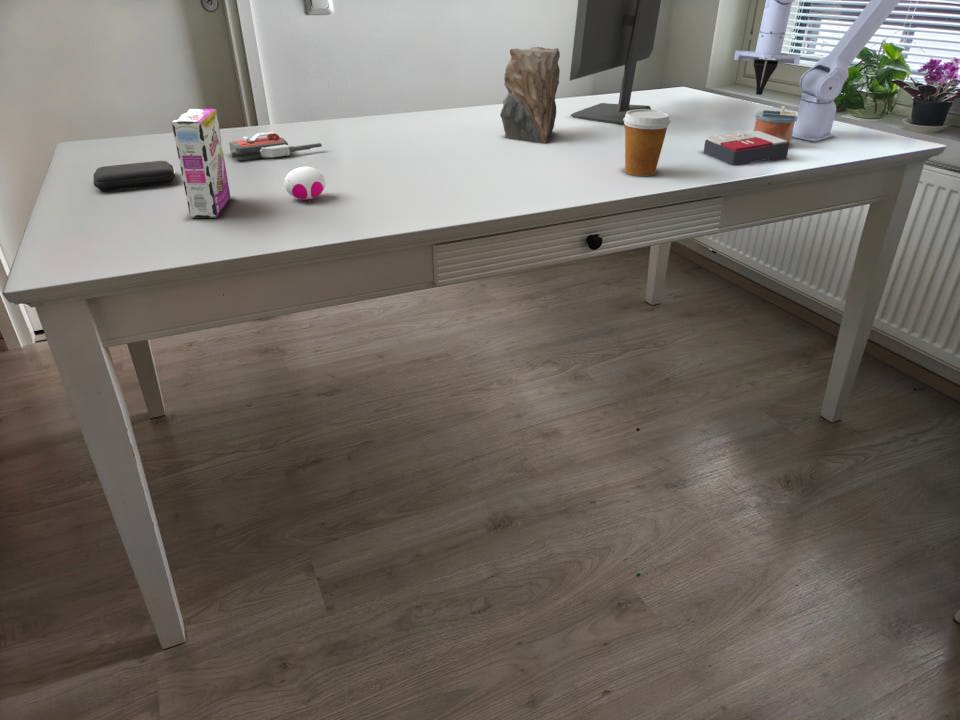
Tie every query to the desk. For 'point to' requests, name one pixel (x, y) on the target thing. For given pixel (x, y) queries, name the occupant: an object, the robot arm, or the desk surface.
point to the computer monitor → (613, 48)
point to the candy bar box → (202, 162)
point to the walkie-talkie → (264, 147)
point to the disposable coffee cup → (644, 140)
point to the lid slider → (786, 112)
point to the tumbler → (775, 124)
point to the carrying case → (134, 175)
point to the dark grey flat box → (746, 147)
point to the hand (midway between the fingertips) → (758, 94)
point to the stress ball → (305, 183)
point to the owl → (531, 94)
